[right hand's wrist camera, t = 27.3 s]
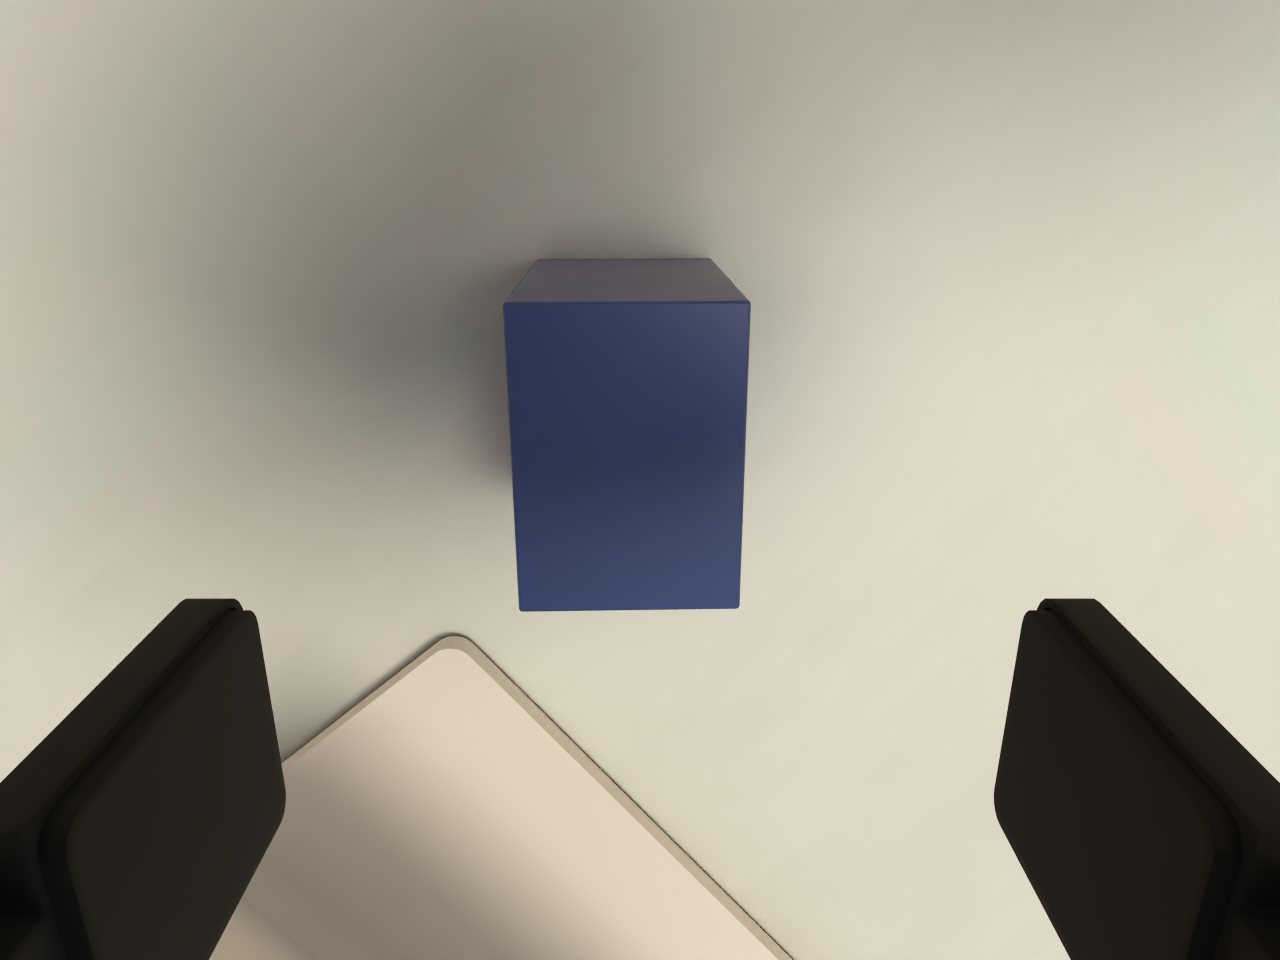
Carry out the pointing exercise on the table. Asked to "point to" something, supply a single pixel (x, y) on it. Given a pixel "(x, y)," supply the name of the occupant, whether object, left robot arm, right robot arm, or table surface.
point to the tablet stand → (471, 841)
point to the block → (627, 434)
